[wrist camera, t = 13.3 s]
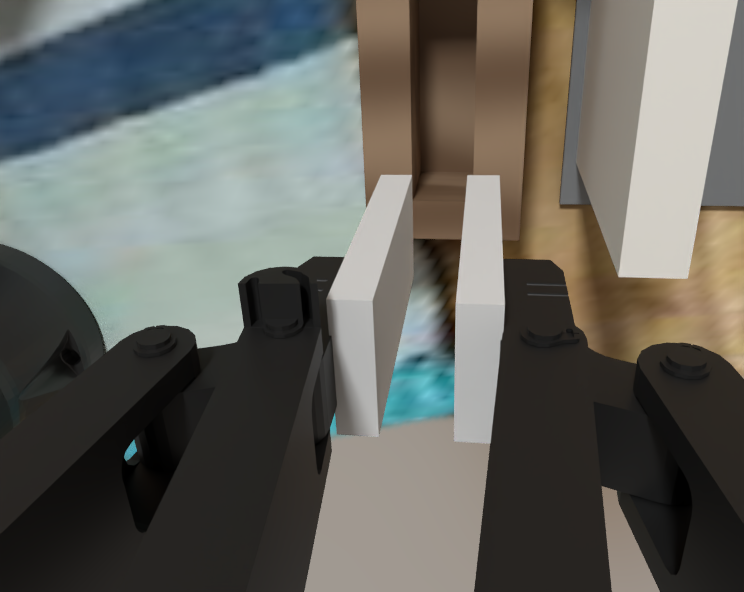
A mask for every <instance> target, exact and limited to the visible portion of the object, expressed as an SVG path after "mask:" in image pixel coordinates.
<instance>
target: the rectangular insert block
mask: <svg viewBox="0 0 744 592" xmlns="http://www.w3.org/2000/svg"><path fill="white" fill-rule="evenodd" d="M737 2H738V0H591V6H590V17H589V28H588V39H587V50H586V60H585V71H584V82H583V93H582V103H581V114H580V125H579V136H578V147H577V157H576V164H577V166H578V169H579V172H580V175H581V177H582V180H583V183H584V185H585V188H586V191H587V194H588V196H589V199H590V202H591V204H592V207H593V210H594V213H595V215H596V218H597V221H598V223H599V226H600V229H601V231H602V234H603V237H604V240H605V242H606V245H607V248H608V250H609V253H610V256H611V259H612V261H613V264H614V267H615V269H616V272H617V275H618V277H636V278H676V279H688V273H689V268H690V262H691V257H692V251H693V246H694V240H695V235H696V229H697V224H698V218H699V213H700V207H701V201H702V196H703V190H704V185H705V179H706V174H707V168H708V163H709V157H710V152H711V146H712V141H713V135H714V130H715V124H716V119H717V113H718V107H719V102H720V96H721V91H722V85H723V80H724V74H725V69H726V63H727V58H728V52H729V47H730V41H731V36H732V30H733V24H734V19H735V13H736V8H737Z"/></svg>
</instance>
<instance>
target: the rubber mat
mask: <svg viewBox="0 0 744 592" xmlns="http://www.w3.org/2000/svg"><path fill="white" fill-rule="evenodd" d="M590 6H591V0H576V10H575V22H574V34H573V46H572V58H571V70H570V81H569V93H568V105H567V117H566V129H565V141H564V153H563V165H562V177H561V189H560V201H559V202H560V204H591V202H590V199H589V196H588V194H587V191H586V188H585V185H584V183H583V180H582V177H581V175H580V172H579V169H578V166H577V164H576V157H577V147H578V136H579V125H580V114H581V103H582V93H583V82H584V71H585V60H586V50H587V39H588V28H589V17H590ZM701 206H744V0H738V2H737V8H736V13H735V19H734V24H733V30H732V36H731V41H730V47H729V52H728V58H727V63H726V69H725V74H724V80H723V85H722V91H721V96H720V102H719V107H718V113H717V119H716V124H715V130H714V135H713V141H712V146H711V152H710V157H709V163H708V168H707V174H706V179H705V185H704V190H703V196H702V201H701Z"/></svg>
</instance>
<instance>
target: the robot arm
mask: <svg viewBox="0 0 744 592" xmlns="http://www.w3.org/2000/svg"><path fill="white" fill-rule="evenodd" d="M413 278H414V260H413V199H412V175H381V176H380V178H379V181H378V183H377V185H376V187H375V190H374V192H373V194H372V196H371V199H370V201H369V203H368V206H367V208H366V210H365V212H364V215H363V217H362V219H361V221H360V224H359V226H358V228H357V230H356V233H355V235H354V237H353V240H352V242H351V244H350V246H349V249H348V251H347V253H346V255H345V257H312V258H311V259H309V260H308V261H306V262H305V263H303V264H302V265H300V266H299V267H298V268H295V267H275V268H268V269H264V270H260V271H256V272H254V273H252V274H250V275H248V276H246V277H244V278H243V279H242V280H241V281H240V282H239V283H238V288H239V294H240V301H241V308H242V315H243V322H244V329H243V331H242V333H241V335H240V337H239V339H238V341H237V342H235V343H231V344H226V345H221V346H214V347H207V348H199V349H197V344H196V338H195V335H194V334H193V333H192V332H191V331H190V330H189V329H185V328H182V327H178V326H165V325H160V326H156V327H155V326H152V327H148V328H145V329H144V330H141V331H138V332H135V333H133V334H131V335H129V336H128V337H126V338H125V339H123V340H121V341H120V342H119V343H118V344H116V345H115V346H114V347H113V348H111V349H110V350H109V351H108V352H107V353H105V354H104V351H103V344H102V340H101V336H100V333H99V330H98V327H97V325H96V322H95V320H94V318H93V316H92V314H91V313H90V311H89V309H88V307H87V306H86V304H85V303H84V301H83V300H82V299H81V297H80V296H79V295H78V294H77V293H76V291H75V290H74V289H73V288H72V287H71V286H70V285H69V284H68V283H67V282H66V281H65V280H64V279H63V278H62V277H61V276H60V275H58V274H57V273H56V272H55V271H54V270H52V269H51V268H50V267H48V266H47V265H45V264H44V263H42V262H41V261H39V260H37V259H36V258H34V257H32V256H30V255H28V254H26V253H24V252H22V251H19V250H17V249H14V248H12V247H8V246H5V245H2V244H0V592H304V590H305V584H306V579H307V575H308V569H309V564H310V559H311V554H312V549H313V544H314V539H315V534H316V529H317V524H318V518H319V513H320V508H321V503H322V498H323V493H324V488H325V483H326V477H327V472H328V468H329V462H330V457H331V452H332V449H331V437H330V426H331V423H332V420H333V417H334V413H335V416H336V428H337V434H341V435H358V436H374V437H379V434H380V429H381V425H382V420H383V415H384V411H385V406H386V402H387V397H388V392H389V388H390V383H391V379H392V374H393V370H394V365H395V360H396V356H397V351H398V347H399V342H400V337H401V333H402V328H403V324H404V319H405V315H406V310H407V305H408V301H409V296H410V292H411V287H412V282H413ZM133 440H135V444H136V448H137V452H136V453H135V454H134V455H133V456H132V457H131V458H130V459H129V460H128V461H126V460H125V459H124V455H125V452H126V450H127V448H128V447H129V445H130V444H131V442H132V441H133ZM454 441H457V442H474V443H490V453H489V461H488V471H487V479H486V490H485V498H484V508H483V516H482V525H481V534H480V544H479V553H478V562H477V571H476V580H475V589H474V592H612V590H611V580H610V569H609V560H608V549H607V539H606V528H605V518H604V509H603V508H604V507H603V497H602V487H601V486H604V487H607V488H610V489H614V490H617V495H618V501H619V505H620V507H621V509H622V511H623V513H624V515H625V517H626V519H627V522H628V524H629V526H630V528H631V530H632V533H633V535H634V537H635V539H636V541H637V543H638V545H639V547H640V550H641V552H642V554H643V556H644V558H645V560H646V563H647V564H648V567H649V569H650V571H651V573H652V575H653V578H654V580H655V582H656V584H657V586H658V588H659V590H660V592H744V379H743V378H742V377H741V375H740V374H739V373H738V372H737V371H736V370H735V369H734V367H733V366H732V365H731V364H730V363H729V362H727V361H726V360H725V359H724V358H722V357H721V356H720V355H718V354H716V353H714V352H712V351H709V350H707V349H705V348H703V347H700V346H697V345H691V344H688V343H662V344H656V345H652V346H650V347H648V348H646V349H644V350H642V351H641V353H640V355H639V357H638V359H637V364H635V363H630V362H625V361H621V360H617V359H613V358H610V357H606V356H604V355H601V354H599V353H597V352H594V351H593V350H591V349H590V348H588V343H587V338H586V336H585V334H584V332H583V331H582V330H580V329H579V328H578V327H576V326H575V324H574V319H573V314H572V310H571V305H570V300H569V296H568V291H567V286H566V282H565V277H564V272H563V271H562V270H561V269H560V268H559V267H558V266H557V265H556V264H554V263H553V262H552V261H551V260H529V259H503V246H502V221H501V196H500V175H467V186H466V197H465V208H464V219H463V230H462V241H461V252H460V263H459V274H458V286H457V297H456V330H455V401H454Z"/></svg>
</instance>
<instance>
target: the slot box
mask: <svg viewBox="0 0 744 592" xmlns="http://www.w3.org/2000/svg"><path fill="white" fill-rule="evenodd" d="M356 6H357V27H358V48H359V69H360V90H361V110H362V131H363V152H364V173H365V193H366V208H367V206H368V203H369V201H370V199H371V196H372V194H373V192H374V190H375V187H376V185H377V183H378V181H379V178H380V176H381V175H412V199H413V239H462V230H463V219H464V208H465V197H466V186H467V175H500V196H501V221H502V240H519V235H520V218H521V200H522V183H523V166H524V148H525V131H526V114H527V97H528V79H529V62H530V45H531V28H532V10H533V0H356Z"/></svg>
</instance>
